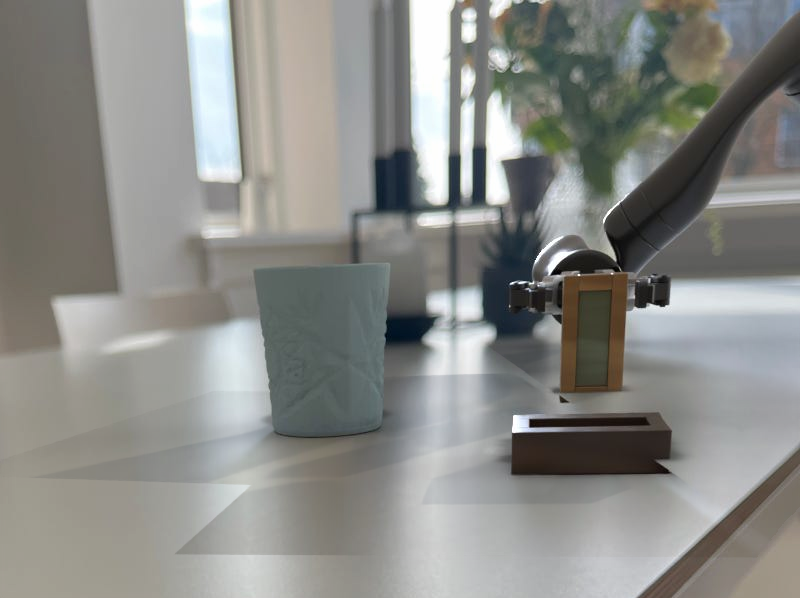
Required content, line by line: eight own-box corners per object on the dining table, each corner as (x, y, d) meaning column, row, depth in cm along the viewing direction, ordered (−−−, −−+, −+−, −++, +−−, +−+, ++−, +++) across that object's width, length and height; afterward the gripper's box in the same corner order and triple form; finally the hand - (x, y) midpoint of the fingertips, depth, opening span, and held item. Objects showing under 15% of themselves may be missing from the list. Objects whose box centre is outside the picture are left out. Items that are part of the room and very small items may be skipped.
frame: (559, 398, 89) (563, 275, 85) (619, 396, 88) (625, 272, 84) (559, 402, 86) (563, 276, 83) (621, 400, 85) (628, 273, 82)
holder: (513, 453, 67) (513, 414, 66) (656, 451, 66) (659, 412, 65) (511, 474, 61) (511, 432, 61) (669, 473, 60) (672, 429, 59)
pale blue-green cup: (243, 437, 78) (230, 269, 74) (293, 415, 87) (284, 264, 83) (371, 439, 75) (365, 263, 70) (409, 416, 83) (406, 258, 79)
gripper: (654, 324, 104) (674, 339, 89) (510, 330, 107) (507, 345, 92) (658, 245, 101) (681, 246, 86) (511, 253, 104) (508, 255, 89)
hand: (591, 297), depth 89 cm, fingers open, 8 cm apart
